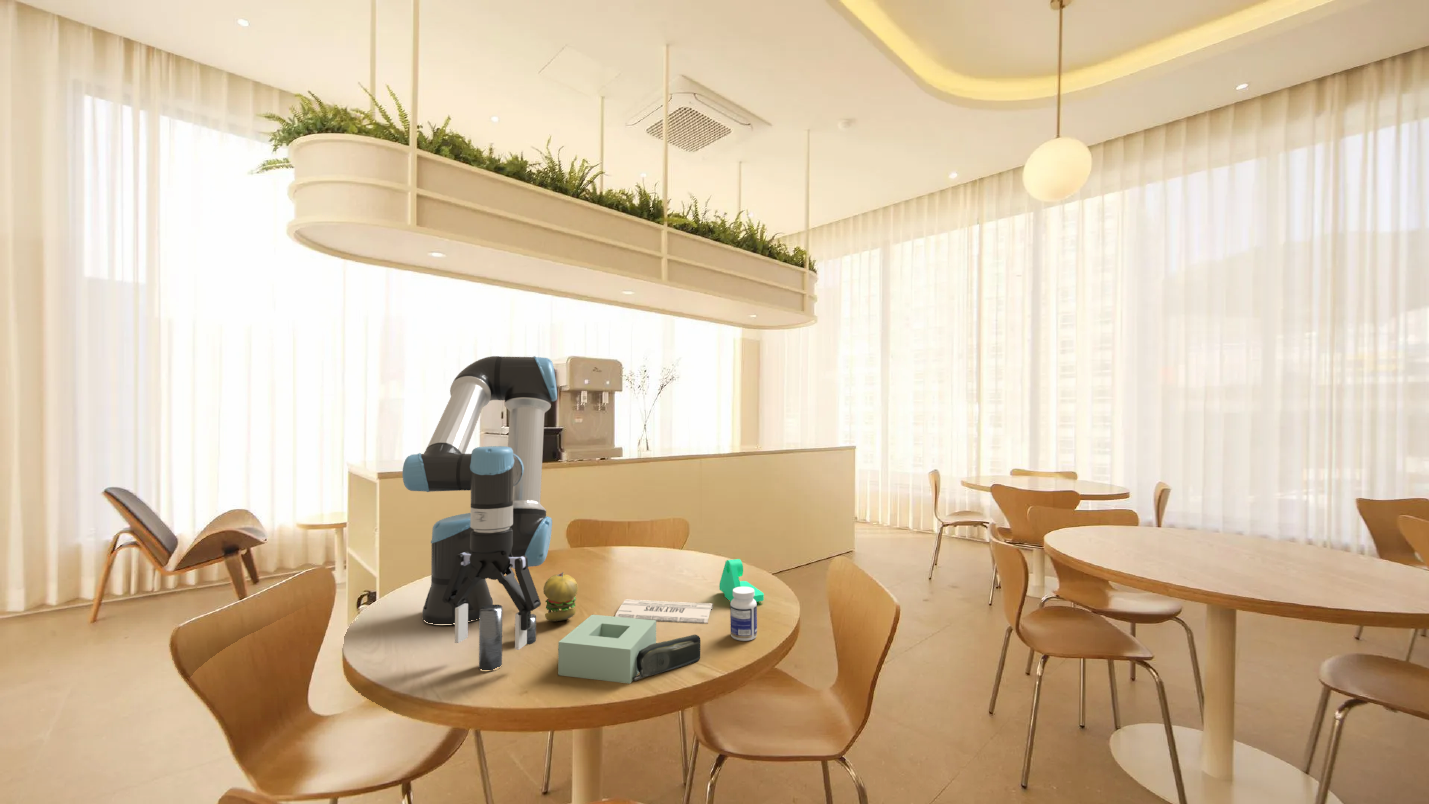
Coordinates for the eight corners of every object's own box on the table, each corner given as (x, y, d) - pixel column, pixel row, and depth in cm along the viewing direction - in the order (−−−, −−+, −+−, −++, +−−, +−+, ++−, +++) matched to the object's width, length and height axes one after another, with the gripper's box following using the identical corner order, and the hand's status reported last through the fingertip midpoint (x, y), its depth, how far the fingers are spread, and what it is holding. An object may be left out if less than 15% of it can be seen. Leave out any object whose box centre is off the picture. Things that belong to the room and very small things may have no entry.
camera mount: (765, 605, 138) (765, 563, 139) (737, 608, 136) (737, 566, 136) (745, 590, 150) (745, 552, 150) (719, 593, 147) (719, 554, 147)
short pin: (511, 644, 114) (512, 620, 114) (522, 636, 118) (522, 613, 118) (529, 646, 113) (529, 621, 113) (539, 638, 117) (539, 614, 117)
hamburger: (573, 614, 131) (574, 563, 131) (581, 624, 125) (581, 571, 125) (540, 620, 127) (540, 567, 128) (546, 631, 121) (546, 576, 121)
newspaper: (713, 607, 138) (713, 597, 138) (707, 631, 126) (707, 621, 126) (625, 602, 140) (625, 593, 140) (610, 626, 128) (610, 615, 128)
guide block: (558, 675, 101) (558, 641, 101) (591, 643, 115) (592, 614, 115) (630, 683, 98) (630, 649, 98) (656, 650, 111) (656, 620, 112)
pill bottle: (742, 628, 123) (743, 583, 123) (762, 636, 119) (762, 589, 119) (724, 636, 119) (724, 589, 119) (744, 644, 115) (744, 596, 115)
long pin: (474, 670, 103) (474, 611, 103) (487, 661, 106) (488, 603, 107) (493, 673, 102) (494, 612, 102) (506, 663, 106) (506, 605, 106)
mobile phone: (694, 631, 110) (628, 649, 100) (703, 635, 107) (637, 654, 98) (694, 656, 110) (627, 677, 100) (703, 661, 107) (636, 683, 98)
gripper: (422, 529, 104) (420, 645, 103) (539, 536, 98) (538, 658, 98) (449, 521, 111) (448, 629, 111) (560, 527, 105) (559, 641, 105)
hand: (490, 643), depth 104 cm, fingers open, 12 cm apart
